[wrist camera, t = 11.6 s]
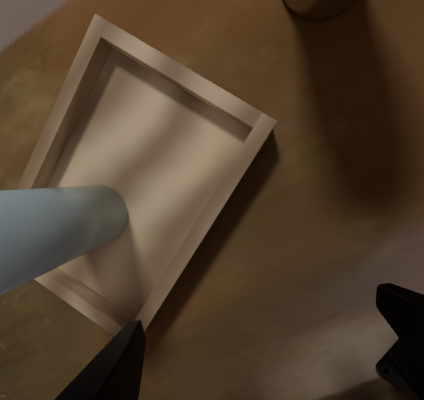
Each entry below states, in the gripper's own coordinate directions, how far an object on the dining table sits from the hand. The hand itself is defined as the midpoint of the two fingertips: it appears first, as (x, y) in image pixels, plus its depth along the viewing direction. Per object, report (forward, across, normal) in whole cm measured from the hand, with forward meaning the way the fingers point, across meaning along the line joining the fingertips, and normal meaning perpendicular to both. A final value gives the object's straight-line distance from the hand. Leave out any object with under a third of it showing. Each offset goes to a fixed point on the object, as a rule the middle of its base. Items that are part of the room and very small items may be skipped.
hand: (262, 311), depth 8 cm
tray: (+14, +8, -3) cm, 16 cm away
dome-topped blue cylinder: (+13, +11, -1) cm, 17 cm away
